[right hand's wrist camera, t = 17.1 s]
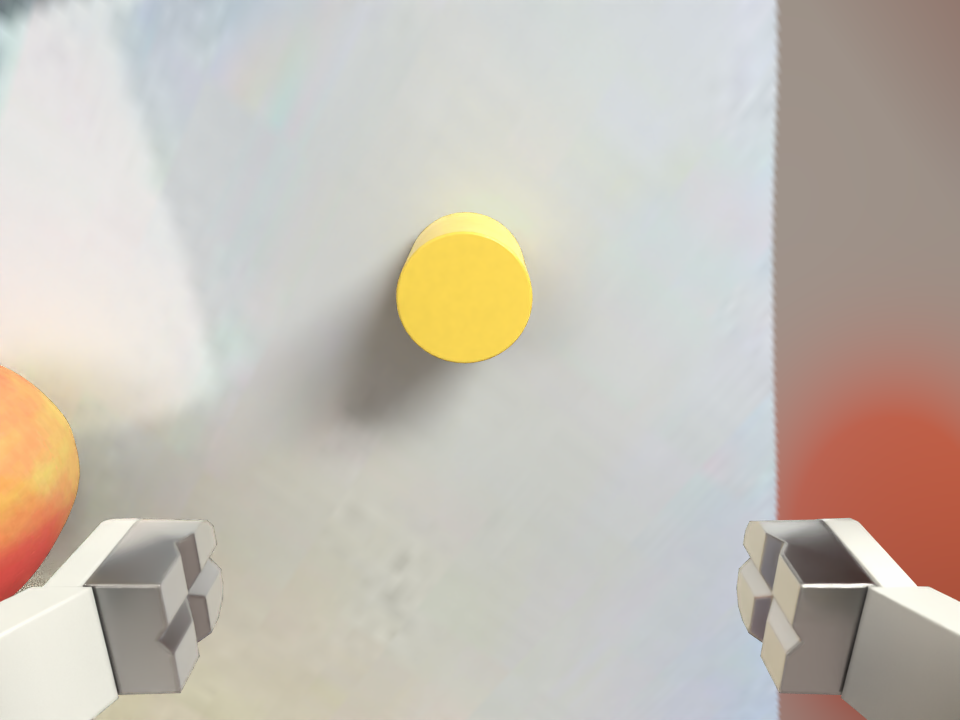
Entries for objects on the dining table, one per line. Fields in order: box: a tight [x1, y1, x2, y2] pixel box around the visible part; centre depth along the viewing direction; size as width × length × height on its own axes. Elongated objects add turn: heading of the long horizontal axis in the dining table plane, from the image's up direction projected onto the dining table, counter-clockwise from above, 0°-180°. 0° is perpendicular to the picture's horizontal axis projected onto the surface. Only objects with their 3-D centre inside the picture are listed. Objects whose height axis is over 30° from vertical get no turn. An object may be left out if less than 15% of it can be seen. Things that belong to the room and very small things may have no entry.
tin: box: [396, 212, 532, 363], centre depth 24 cm, size 4×4×4 cm
